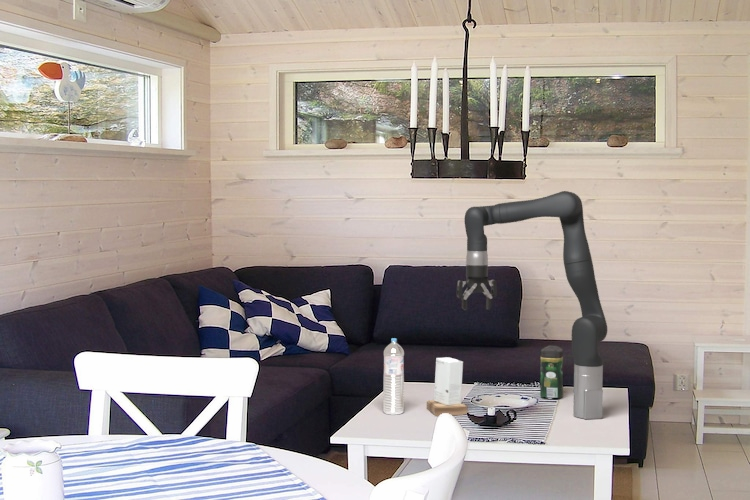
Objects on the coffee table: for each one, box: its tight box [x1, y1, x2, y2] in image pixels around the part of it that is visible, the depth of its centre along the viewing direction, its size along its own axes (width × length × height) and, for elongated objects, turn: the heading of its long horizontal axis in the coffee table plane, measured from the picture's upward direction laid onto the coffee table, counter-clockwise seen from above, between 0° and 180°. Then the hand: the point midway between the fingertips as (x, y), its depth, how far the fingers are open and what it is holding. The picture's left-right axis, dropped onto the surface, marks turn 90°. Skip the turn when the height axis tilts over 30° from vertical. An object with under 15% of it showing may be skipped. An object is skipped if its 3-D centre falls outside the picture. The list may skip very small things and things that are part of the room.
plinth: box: [426, 399, 469, 417], centre depth 315 cm, size 11×11×3 cm
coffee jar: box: [539, 345, 564, 399], centre depth 339 cm, size 10×8×19 cm
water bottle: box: [382, 337, 405, 416], centre depth 313 cm, size 7×7×25 cm
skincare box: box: [433, 356, 464, 405], centre depth 315 cm, size 8×6×15 cm
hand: (476, 309), depth 328 cm, fingers open, 8 cm apart
